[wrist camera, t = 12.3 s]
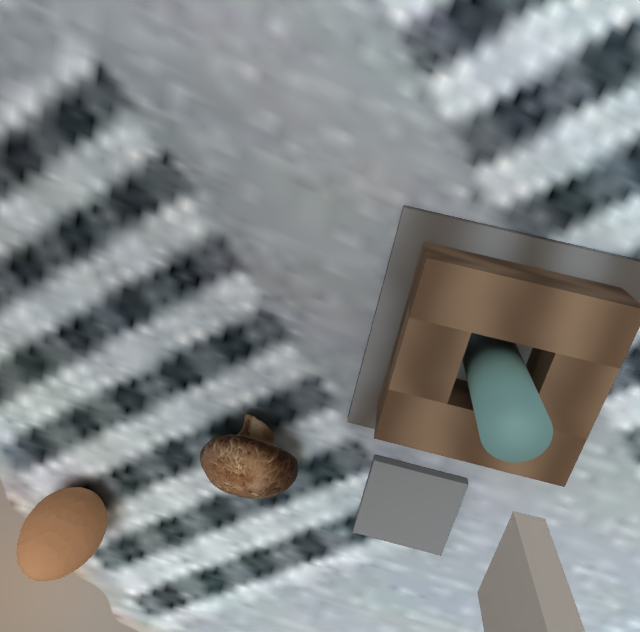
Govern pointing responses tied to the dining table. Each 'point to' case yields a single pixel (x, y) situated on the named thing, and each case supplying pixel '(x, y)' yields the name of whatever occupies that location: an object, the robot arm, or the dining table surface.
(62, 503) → the egg
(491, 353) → the peg
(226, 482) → the mushroom
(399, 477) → the pad
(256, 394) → the dining table surface
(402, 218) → the socket
